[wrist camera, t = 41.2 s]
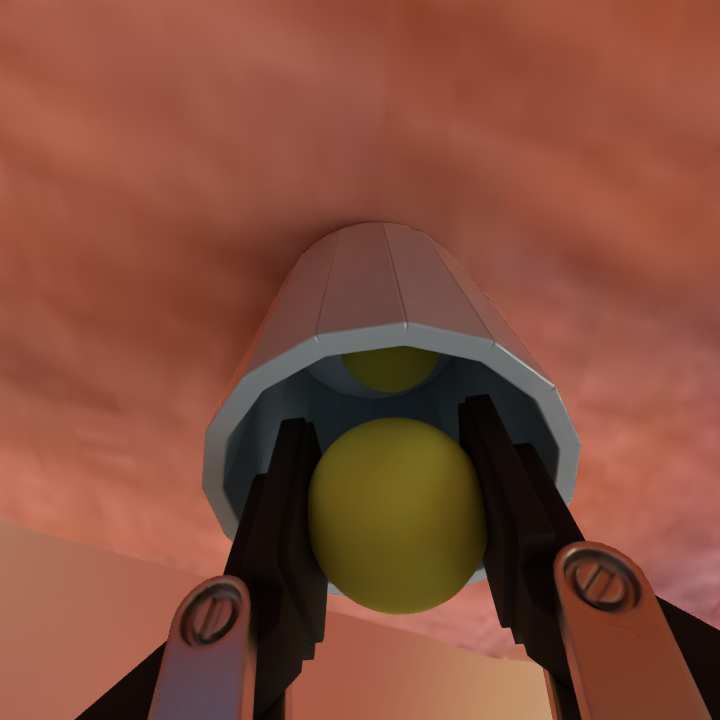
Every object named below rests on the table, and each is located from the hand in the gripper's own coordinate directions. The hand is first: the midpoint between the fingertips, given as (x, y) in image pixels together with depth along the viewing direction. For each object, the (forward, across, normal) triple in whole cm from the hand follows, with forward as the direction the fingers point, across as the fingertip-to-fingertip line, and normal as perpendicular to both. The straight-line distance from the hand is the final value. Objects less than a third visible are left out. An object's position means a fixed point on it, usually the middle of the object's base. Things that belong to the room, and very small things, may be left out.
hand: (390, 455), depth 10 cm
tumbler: (+9, 0, 0) cm, 9 cm away
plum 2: (0, 0, 0) cm, 0 cm away
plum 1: (+8, 0, 0) cm, 8 cm away
